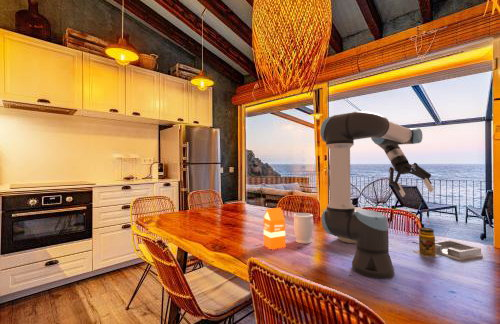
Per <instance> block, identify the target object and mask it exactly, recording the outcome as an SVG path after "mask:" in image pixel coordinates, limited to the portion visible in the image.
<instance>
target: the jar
mask: <svg viewBox="0 0 500 324" xmlns="http://www.w3.org/2000/svg"><path fill="white" fill-rule="evenodd" d="M313 216H314V215H313V213H308V212H296V213H293V218H294V219H293V230H294V236H295V238H296V239H295V242H297V243H298V244H304V245H305V244H310V243H312V239H311V238H312V236H313V229H314V221H313Z"/></svg>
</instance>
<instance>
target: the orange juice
mask: <svg viewBox="0 0 500 324" xmlns="http://www.w3.org/2000/svg"><path fill="white" fill-rule="evenodd" d="M264 245H265V246H264ZM263 246H264V247H266V248H267V247H268V249H269V250H270V249H272V250H276V249H277V248H278V249H282V247H283V248H286V218H285V216H284V213H283V210H282V207H273V208H266V211H265V214H264V216H263ZM278 249H277V250H278Z"/></svg>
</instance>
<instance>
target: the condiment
mask: <svg viewBox="0 0 500 324" xmlns="http://www.w3.org/2000/svg"><path fill="white" fill-rule="evenodd" d="M434 231H435V230H434V229H433V228H430V227H420V228H419V233H418V234H419V235H418V248H419V249H418V250H413V253H417V254H418V255H420V256H422V257H424V258H439V257H441V256H442V255H441V256H440V254H437V253H435V242H436V236H435V235H434Z"/></svg>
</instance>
